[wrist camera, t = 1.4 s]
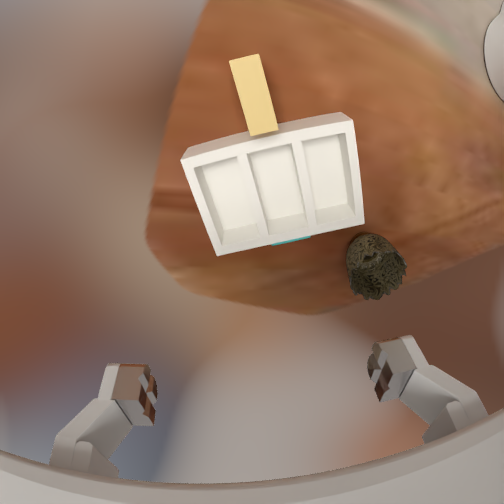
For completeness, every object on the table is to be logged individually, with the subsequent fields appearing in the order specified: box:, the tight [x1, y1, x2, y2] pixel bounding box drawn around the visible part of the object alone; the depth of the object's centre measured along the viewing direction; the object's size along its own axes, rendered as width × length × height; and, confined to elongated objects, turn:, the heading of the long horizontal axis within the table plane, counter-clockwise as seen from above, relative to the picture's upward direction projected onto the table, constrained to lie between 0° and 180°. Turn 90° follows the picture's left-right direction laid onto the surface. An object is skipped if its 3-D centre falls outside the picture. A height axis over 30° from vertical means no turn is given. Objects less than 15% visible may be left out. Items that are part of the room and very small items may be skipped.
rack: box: [181, 112, 365, 256], centre depth 35 cm, size 18×13×4 cm
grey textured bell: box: [346, 232, 407, 300], centre depth 39 cm, size 8×7×8 cm
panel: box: [229, 54, 279, 136], centre depth 27 cm, size 2×7×8 cm, turn 14°
